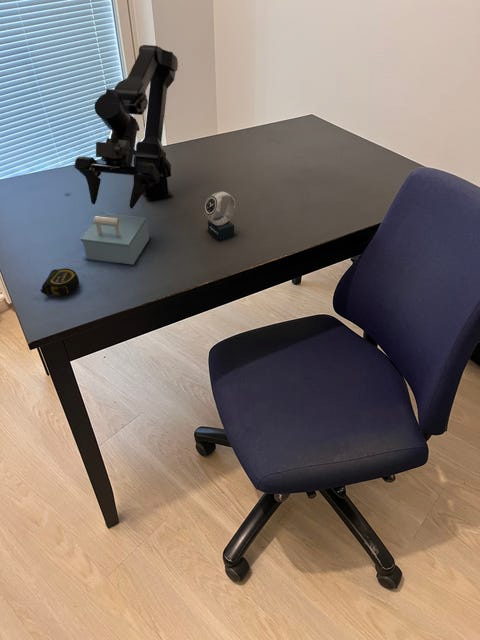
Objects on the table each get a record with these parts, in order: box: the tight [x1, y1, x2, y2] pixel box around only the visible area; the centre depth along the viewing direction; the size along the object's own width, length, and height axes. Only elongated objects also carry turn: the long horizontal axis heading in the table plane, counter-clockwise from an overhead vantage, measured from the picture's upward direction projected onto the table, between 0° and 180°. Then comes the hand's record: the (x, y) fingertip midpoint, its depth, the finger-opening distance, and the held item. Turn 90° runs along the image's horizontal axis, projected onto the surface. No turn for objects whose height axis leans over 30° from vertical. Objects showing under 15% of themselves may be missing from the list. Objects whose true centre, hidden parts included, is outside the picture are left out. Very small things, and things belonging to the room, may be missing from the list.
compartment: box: [82, 220, 150, 266], centre depth 115 cm, size 12×12×5 cm
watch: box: [203, 191, 237, 241], centre depth 119 cm, size 6×8×11 cm
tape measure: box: [40, 267, 80, 297], centre depth 103 cm, size 7×7×4 cm
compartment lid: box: [80, 212, 148, 247], centre depth 111 cm, size 12×12×5 cm
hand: (111, 205), depth 110 cm, fingers open, 9 cm apart
